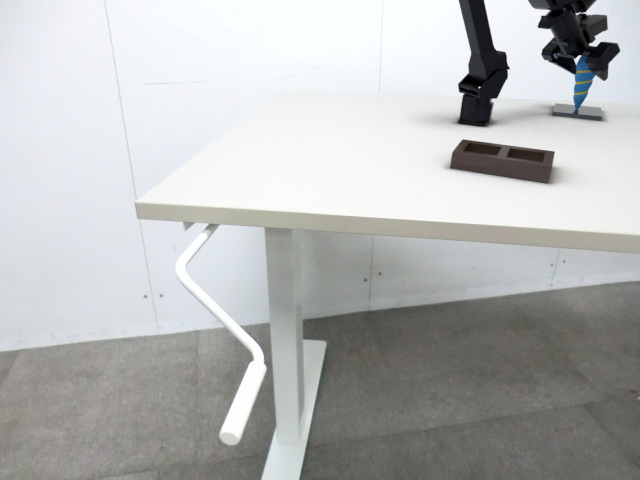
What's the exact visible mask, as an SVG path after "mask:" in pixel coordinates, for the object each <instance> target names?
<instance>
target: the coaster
mask: <svg viewBox="0 0 640 480" xmlns="http://www.w3.org/2000/svg"><path fill="white" fill-rule="evenodd" d="M552 116H555V117H562V118H573V119H582V120H589V121H590V120H591V121H600V122H601V121H602V119H603V112H602V107H599V106H589V105H581V106H580V108H579V109H575V104H567V103H559V102H555V103H554V107H553V109H552Z"/></svg>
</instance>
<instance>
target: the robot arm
mask: <svg viewBox="0 0 640 480" xmlns="http://www.w3.org/2000/svg"><path fill="white" fill-rule="evenodd" d="M527 1H528V3H529V4H530V6H531V7H532V8H533V9H534V10H542V11H548V12H547V13H546V14H545V15H541V16H540V20H539V22H538V23H537V28H538V29H542V30H550V32H551V33H552V35H553V37H552V39H550V41H549V42H547V44H546V45H545V46H544V47H543V48H542V49H541V57H542V59H543V60H544V61H547V62H548V63H551V64H553V65H555V66H557V67H559V68H560V69H563V70H565V71H566V72H568V73H570V74H572V75H574V76H575V74H576V73H577V72H576V65H577V63H576V61H575V59H577V58H578V57H579V56H580V57H581V56H587V57H586V61H585V63H586V65H587V66H588V67H589V68H588V70H590V71H591V72H592V73H594V74H595V77H597V78H599V79H600V80H601V81H603V82H606V81H607V80H608V79H609V68H610V67H609V66H610V65H609V64H610V63H611V62H612V61H613V60H614V59H615V58H616V57H617V56H618V55H619V53H621V48H620V46H619V44H618V42H611V41H600V42H598V44H597V45H596V46H595V45H590V44H593V43H594V42H595V41H596V40H597V38H596V37H597V35H599V34H601V33H603V32H606V31H607V30H609V27H608V26H609V23H608V15H606V14H587V13H586V12H587V11H589V9H590V8H591V7H592V6H593V5H594V4H595V3H596V2H597V1H598V0H527ZM458 4H459V8H460V12H461V16H462V20H463V24H464V29H465V33H466V37H467V41H468V45H469V50H470V57H469V60H468V64H467V67H468V73H467V74H466V75H465V76H464V77H463V78H462V79H461V80H460V81H459V82H458V83H457V88H458V92H459V93H460V94H462V97H461V105H460V110H459V111H460V112H459V118H458V119H457V122H456V123H458V124H462V125H463V124H465V125H473V126H481V127H486V126H487V125H488V124H489V123H490V122H491V120H492V116H493V112H494V111H493V110H494V105H495V103H494V102H493V100H494V99H495V100H496V99H498V98H499V96H500V93H501V91H502V89H503V88H504V85H505V83H506V81H507V80H508V78H509V71H510V66H509V64H508V56H507V55H508V54H507V52H506V51H502V50H498V49H496V48H495V46H494V41H493V36H492V32H491V31H492V30H491V27H490V22H489V17H488V12H487V8H486V3H485V0H458ZM508 70H509V71H508Z"/></svg>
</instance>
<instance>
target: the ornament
mask: <svg viewBox="0 0 640 480" xmlns="http://www.w3.org/2000/svg"><path fill="white" fill-rule="evenodd" d="M586 57H587V56H581V55H580V57H579V59H578V61H577V63H576V72H577V73H576V74H575V75H574V82H575V83H574V86H573V97H572V98H573V105H575V109H579V108H580V106H582V104H583V103H584V101H585V100H586V98H587V97H588V95H589V90H590V88H592V85H593V82H594V79H595V77H596V75H595V74H594V73H592V72H591V71H590V70H588V68H589V67H588V66H587V65H586V63H585V61H586Z"/></svg>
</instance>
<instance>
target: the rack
mask: <svg viewBox="0 0 640 480" xmlns="http://www.w3.org/2000/svg"><path fill="white" fill-rule="evenodd" d="M555 152H556V151H554V150H548V149H547V150H546V149H540V148H532V147H523V146H516V145H508V144H502V143H495V142H487V141H479V140H472V139H471V140H470V139H465V138H464V139H463V138H462V139H461V140H460V142H459V143H458V144H457V146H455V148H454V149H453V151H451V159H450V166H449V168H450V169H454V170H460V171H467V172H474V173H480V174H486V175H491V176H492V175H493V176H498V177H505V178H510V179H519V180H524V181H531V182H537V183H544V184H548V183H549V182H550V177H551V174H552V173H551V172H552V169H553V164H554V159H555Z"/></svg>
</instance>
